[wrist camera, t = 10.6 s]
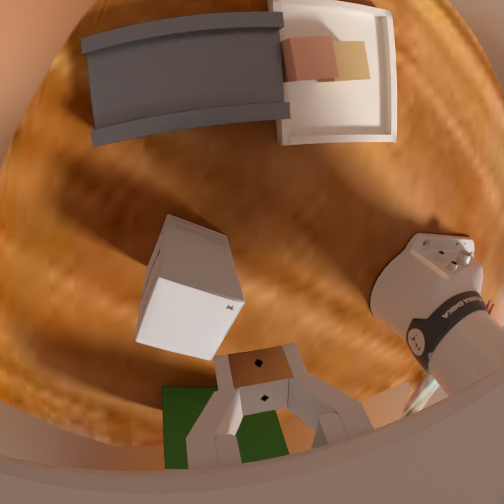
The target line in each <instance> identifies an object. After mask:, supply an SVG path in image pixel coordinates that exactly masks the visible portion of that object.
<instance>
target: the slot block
mask: <svg viewBox="0 0 504 504" xmlns="http://www.w3.org/2000/svg"><path fill="white" fill-rule="evenodd" d="M283 27H284V19H283V12H261V11H258V12H224V13H210V14H199V15H190V16H181V17H174V18H167V19H161V20H155V21H150V22H144V23H139V24H134V25H130V26H125V27H121V28H117V29H113V30H109V31H105V32H101V33H98V34H94V35H91V36H87V37H84V38H81V51H82V54H83V55H86V56H87V63H88V75H89V85H90V94H91V102H92V110H93V117H94V124H95V129H94V130H91V137H92V143H93V147H97V146H101V145H105V144H110V143H114V142H119V141H123V140H128V139H133V138H138V137H143V136H148V135H153V134H159V133H165V132H171V131H177V130H183V129H190V128H197V127H205V126H213V125H221V124H230V123H240V122H251V121H264V120H279V119H290V102H284V87H283V72H282V58H281V45H280V32H279V30H280V29H282V28H283Z"/></svg>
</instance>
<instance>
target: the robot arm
mask: <svg viewBox="0 0 504 504" xmlns="http://www.w3.org/2000/svg"><path fill="white" fill-rule="evenodd" d="M482 281H483V269H482V266H481V264H480V263H479V262H478V261H477V260H476V259H475V258H474V242H473V240H472V239H471V238H470V237H463V236H451V235H439V234H426V233H417V234H415V235H414V236H413V237H412V239H411V240H410V241H409V243H408V244H407V246H406V248H405V249H404V250H403V251H402V252H401V253H400V254H399V255H398V256H397V257H396V258H394V259H393V260H392V261H391V262H390V263H389V264H388V265H387V267H386V268H385V269H384V270H383V272H382V273H381V274H380V276H379V278H378V279H377V281H376V283H375V285H374V288H373V290H372V294H371V299H370V307H371V311H372V314H373V315H374V317H375V318H376V319H377V320H379V321H381V322H382V323H384V324H385V325H386V326H388V327H389V328H390V329H391V330H392V331H393V332H394V333H396V334H397V335H398V336H399V337H400V338H401V339H402V340H403V341H404V342H405V343H406V344H407V345H408V346H409V348H410V350H411V351H412V353H413V355H414V357H415V358H416V359H417V361H418V362H419V363H420V365H421V366H422V367H423V368H424V369H425V371H426V372H427V373H429V374H432V375H433V376H434V378H435V379H436V381H437V382H438V383H439V385H440V386H441V387H442V389H443V390H444V391H445V393H446V394H447V396H448V397H447V398H445V399H443V400H441V401H439V402H437V403H435V404H433V405H431V406H429V407H427V408H425V409H422V410H420V411H418V412H416V413H414V414H411V415H409V416H407V417H404V418H402V419H400V420H397V421H395V422H393V423H390V424H387V425H385V426H382V427H379V428H377V429H374V428H373V426H372V424H371V422H370V420H369V418H368V416H367V414H366V412H365V410H364V408H363V406H362V404H361V403H360V402H358V401H356V400H355V399H353V398H351V397H350V396H348V395H346V394H345V393H343V392H341V391H340V390H338V389H336V388H335V387H333V386H331V385H330V384H328V383H327V382H325V381H323V380H322V379H320V378H318V377H317V376H315V375H314V374H308V372H307V370H306V367H305V365H304V363H303V360H302V358H301V356H300V353H299V351H298V349H297V346H296V344H295V343H291V344H286V345H281V346H275V347H270V348H264V349H259V350H254V351H248V352H241V353H233V354H227V355H218V356H214V364H215V371H216V378H217V385H218V391H215V392H214V393H213V395H212V396H211V398H210V400H209V401H208V403H207V405H206V406H205V408H204V410H203V411H202V413H201V415H200V416H199V418H198V419H197V421H196V423H195V424H194V426H193V428H192V429H191V431H190V432H189V434H188V436H187V437H186V445H187V458H188V469H189V470H178V471H154V472H126V471H125V472H124V471H102V470H101V471H100V470H88V469H78V468H69V467H61V466H53V465H47V464H41V463H36V462H30V461H25V460H20V459H16V458H11V457H7V456H3V455H0V504H504V328H503V327H502V326H500V325H499V324H498V323H497V322H496V321H495V320H494V319H493V318H492V317H491V316H490V313H491V311H492V308H493V306H494V304H492V306H491V308H490V302H491V301H490V300H489V301H488V304H487V306H486V305H485V303H484V302H483V300H482V298H481V296H480V294H481V287H482ZM489 308H490V310H489ZM287 407H288V409H289V410H290V411H291V412H292V413H294V414H295V415H296V416H297V417H298V418H299V419H301V420H302V421H303V422H304V423H306V424H307V425H308V426H309V427H310V428H312V429H313V430H314V431H315V432H316V433H315V437H314V441H313V445H312V448H311V449H310V450H306V451H302V452H298V453H294V454H290V455H285V456H281V457H276V458H271V459H266V460H260V461H255V462H249V463H243V464H242V461H241V457H240V452H239V448H238V443H237V438H236V436H235V434H236V432H237V430H238V428H239V425H240V423H241V421H242V418H243V416H245V415H250V414H255V413H260V412H265V411H271V410H276V409H282V408H287Z"/></svg>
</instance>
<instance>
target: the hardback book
mask: <svg viewBox="0 0 504 504" xmlns="http://www.w3.org/2000/svg"><path fill="white" fill-rule="evenodd" d="M215 391H218V388H198V387H168V386H162V400H163V438H164V458H165V471H178V470H189V469H188V458H187V445H186V437H187V436H188V434H189V432H190V431H191V429H192V428H193V426H194V424H195V423H196V421H197V419H198V418H199V416H200V415H201V413H202V411H203V410H204V408H205V406H206V405H207V403H208V401H209V400H210V398H211V396H212V395H213V393H214V392H215ZM235 436H236V438H237V443H238V448H239V452H240V457H241V461H242V464H243V463H249V462H255V461H260V460H266V459H271V458H276V457H281V456H285V455H289V452H288V449H287V446H286V442H285V439H284V436H283V433H282V430H281V427H280V423H279V420H278V417H277V414H276V411H275V410H271V411H265V412H260V413H255V414H250V415H245V416H243V418H242V421H241V423H240V425H239V428H238V430H237V432H236V434H235Z"/></svg>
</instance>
